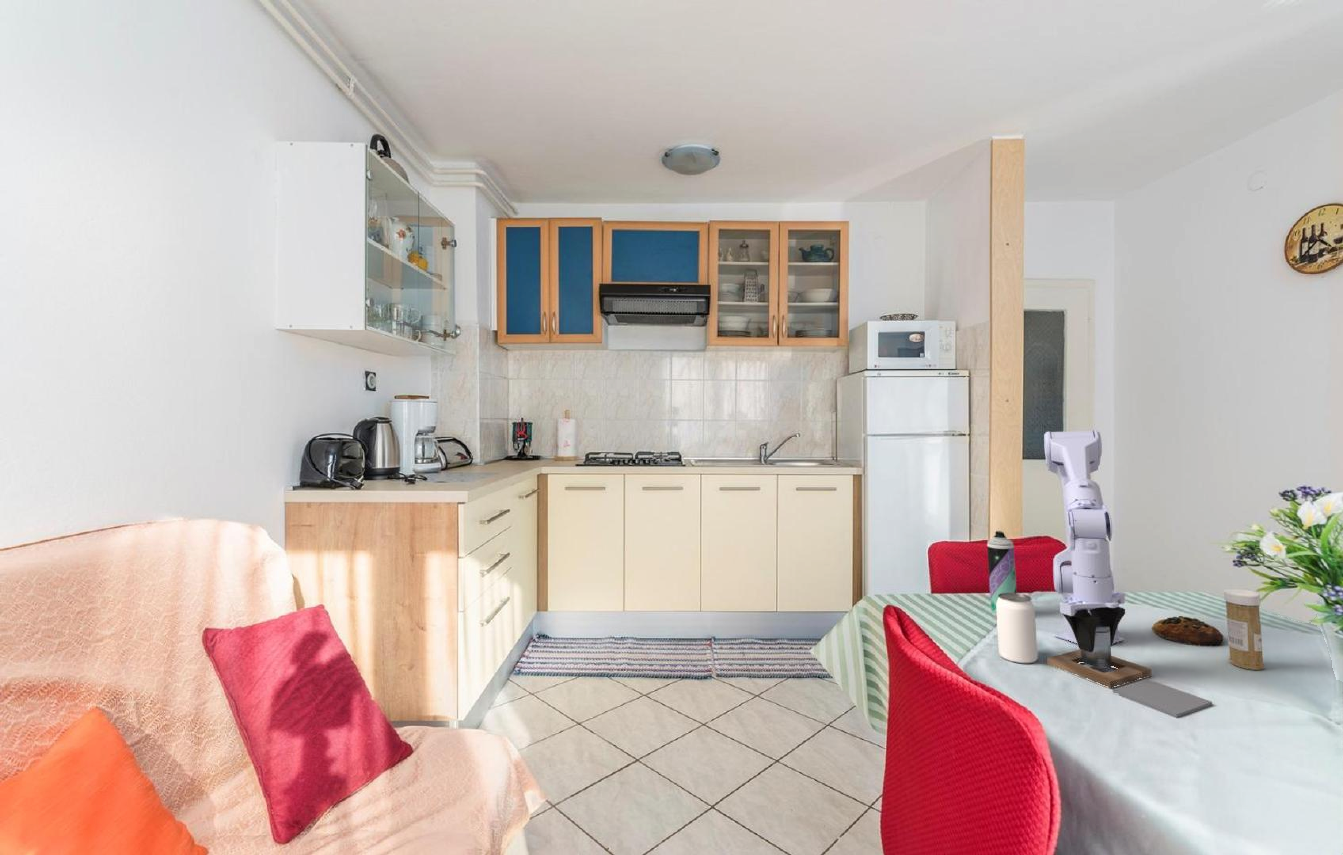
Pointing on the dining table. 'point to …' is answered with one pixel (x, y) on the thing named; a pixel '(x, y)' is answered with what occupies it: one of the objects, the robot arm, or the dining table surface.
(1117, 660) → the collar
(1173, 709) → the coaster
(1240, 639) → the sprinkles bottle
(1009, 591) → the spray can
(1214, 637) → the bread roll
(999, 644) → the can
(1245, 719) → the dining table surface
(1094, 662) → the grey metal cylinder
